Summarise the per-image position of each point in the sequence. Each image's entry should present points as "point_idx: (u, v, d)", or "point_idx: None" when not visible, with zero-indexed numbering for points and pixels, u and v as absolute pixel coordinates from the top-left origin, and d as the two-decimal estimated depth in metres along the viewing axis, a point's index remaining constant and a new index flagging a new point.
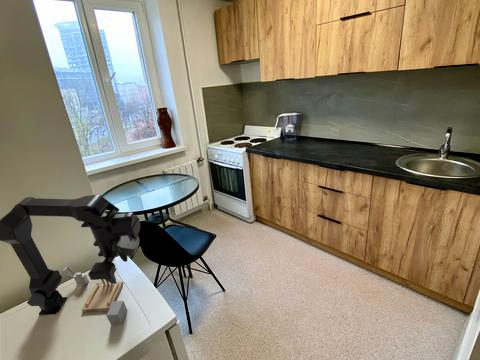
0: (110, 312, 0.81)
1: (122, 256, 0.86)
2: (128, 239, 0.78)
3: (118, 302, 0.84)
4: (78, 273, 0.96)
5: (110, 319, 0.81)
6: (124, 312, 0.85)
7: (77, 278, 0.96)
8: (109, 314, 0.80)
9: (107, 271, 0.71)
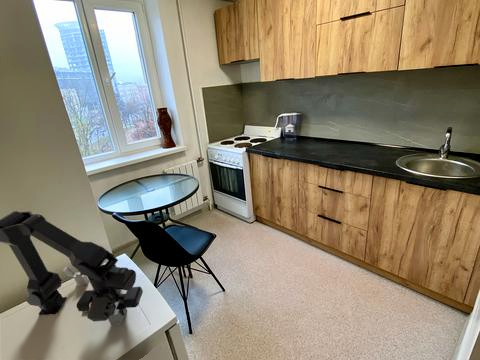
0: None
1: None
2: (102, 306, 0.73)
3: (118, 302, 0.84)
4: (78, 273, 0.96)
5: (110, 319, 0.81)
6: None
7: (77, 278, 0.96)
8: None
9: (77, 305, 0.77)
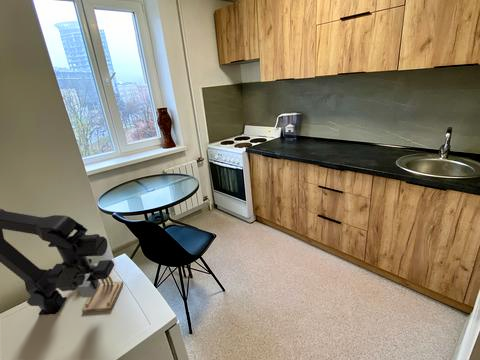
0: None
1: None
2: (71, 276, 0.74)
3: None
4: None
5: (81, 291, 0.82)
6: None
7: None
8: (80, 286, 0.81)
9: (47, 276, 0.78)
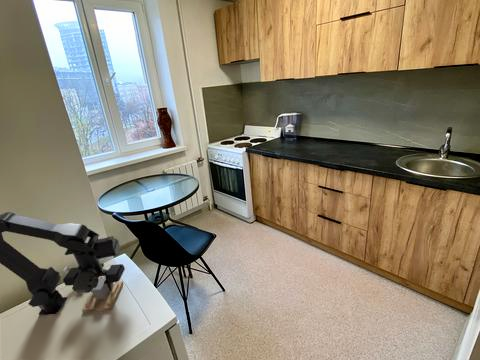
0: None
1: None
2: (86, 279, 0.81)
3: (102, 279, 0.91)
4: None
5: (94, 294, 0.89)
6: (108, 288, 0.92)
7: None
8: (93, 289, 0.88)
9: (64, 279, 0.85)
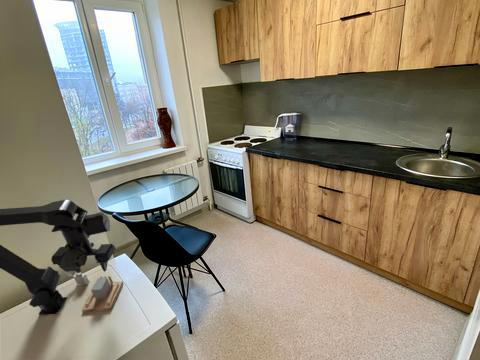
0: (94, 287, 0.88)
1: None
2: (74, 257, 0.78)
3: (102, 279, 0.91)
4: (78, 273, 0.96)
5: (94, 294, 0.89)
6: (108, 288, 0.92)
7: (77, 278, 0.96)
8: (93, 289, 0.88)
9: (52, 258, 0.82)
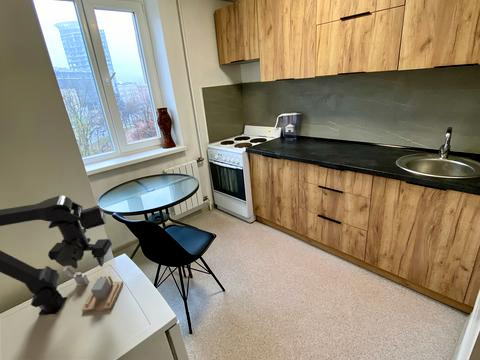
0: (94, 287, 0.88)
1: None
2: (70, 252, 0.79)
3: (102, 279, 0.91)
4: (78, 273, 0.96)
5: (94, 294, 0.89)
6: (108, 288, 0.92)
7: (77, 278, 0.96)
8: (93, 289, 0.88)
9: (48, 253, 0.83)
